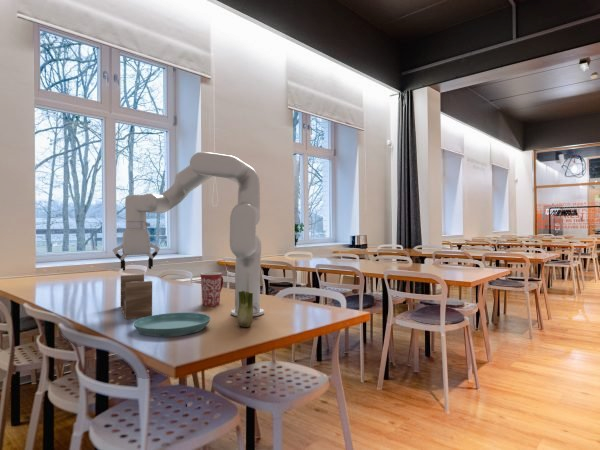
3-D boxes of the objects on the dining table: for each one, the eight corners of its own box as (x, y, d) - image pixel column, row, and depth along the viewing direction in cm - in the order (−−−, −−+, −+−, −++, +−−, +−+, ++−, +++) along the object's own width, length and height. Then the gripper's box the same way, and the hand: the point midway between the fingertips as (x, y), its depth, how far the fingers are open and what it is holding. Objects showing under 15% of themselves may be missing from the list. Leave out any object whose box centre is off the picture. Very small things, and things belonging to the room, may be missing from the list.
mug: (212, 307, 171) (213, 274, 171) (195, 305, 175) (195, 273, 175) (230, 302, 183) (230, 272, 183) (214, 300, 187) (214, 270, 187)
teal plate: (200, 318, 151) (200, 309, 151) (219, 334, 130) (219, 323, 130) (129, 325, 140) (130, 315, 140) (137, 343, 119) (137, 332, 119)
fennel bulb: (254, 327, 137) (255, 291, 137) (240, 329, 134) (241, 292, 134) (248, 324, 142) (248, 289, 142) (234, 325, 139) (234, 290, 140)
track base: (152, 316, 153) (152, 281, 153) (125, 319, 149) (126, 283, 149) (143, 304, 176) (143, 274, 176) (120, 306, 172) (120, 275, 172)
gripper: (157, 226, 170) (158, 267, 170) (111, 226, 162) (112, 270, 162) (160, 225, 163) (161, 268, 163) (112, 226, 155) (113, 271, 155)
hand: (137, 269), depth 162 cm, fingers open, 9 cm apart
